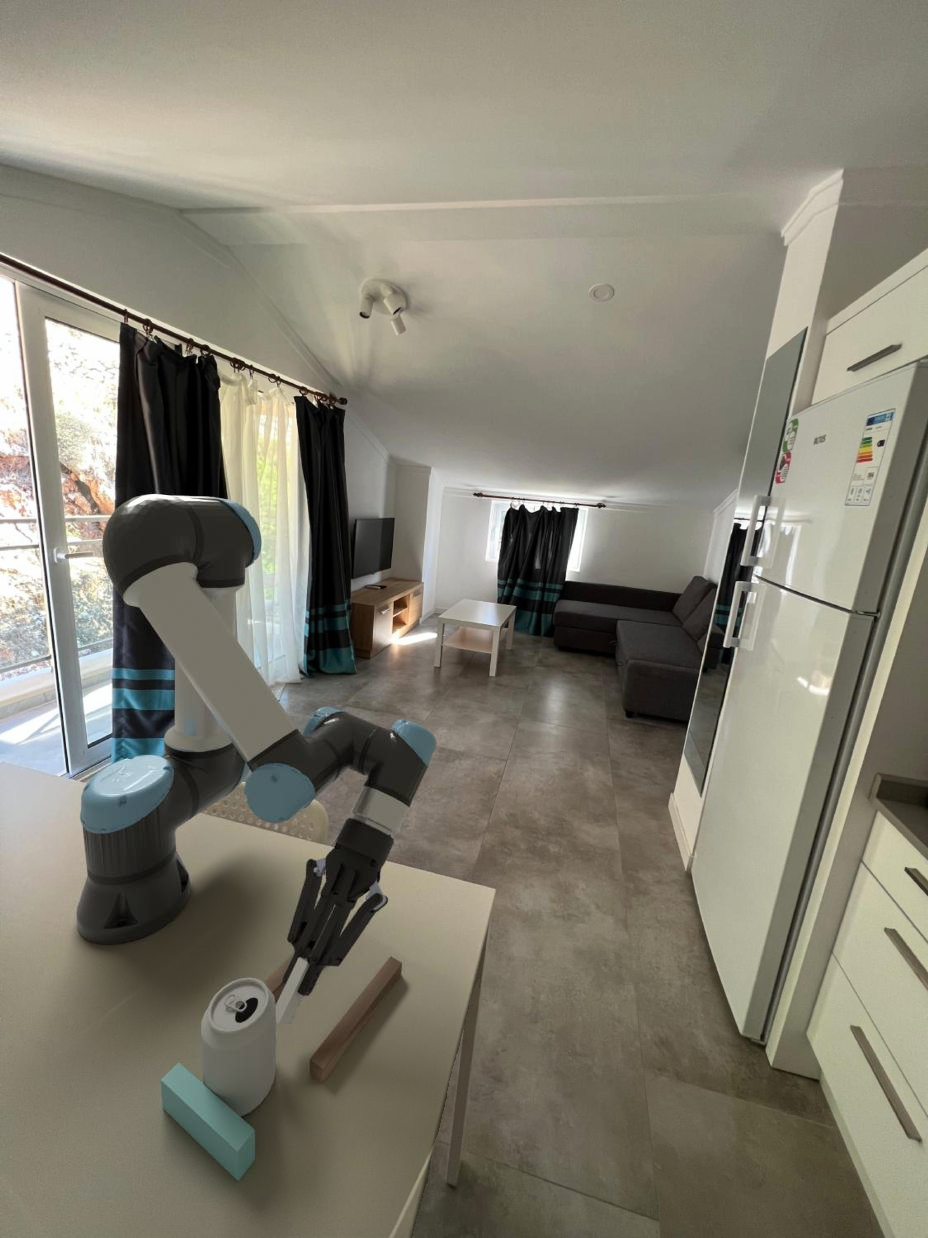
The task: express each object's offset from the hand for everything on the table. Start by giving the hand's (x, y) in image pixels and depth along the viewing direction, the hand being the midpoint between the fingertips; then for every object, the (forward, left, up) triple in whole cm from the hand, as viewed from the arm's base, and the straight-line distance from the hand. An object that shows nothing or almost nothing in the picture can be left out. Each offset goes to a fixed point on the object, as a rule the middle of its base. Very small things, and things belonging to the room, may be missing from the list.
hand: (280, 1020), depth 60 cm
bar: (0, -10, -4) cm, 11 cm away
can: (-1, -5, -5) cm, 7 cm away
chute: (0, +8, -5) cm, 9 cm away
